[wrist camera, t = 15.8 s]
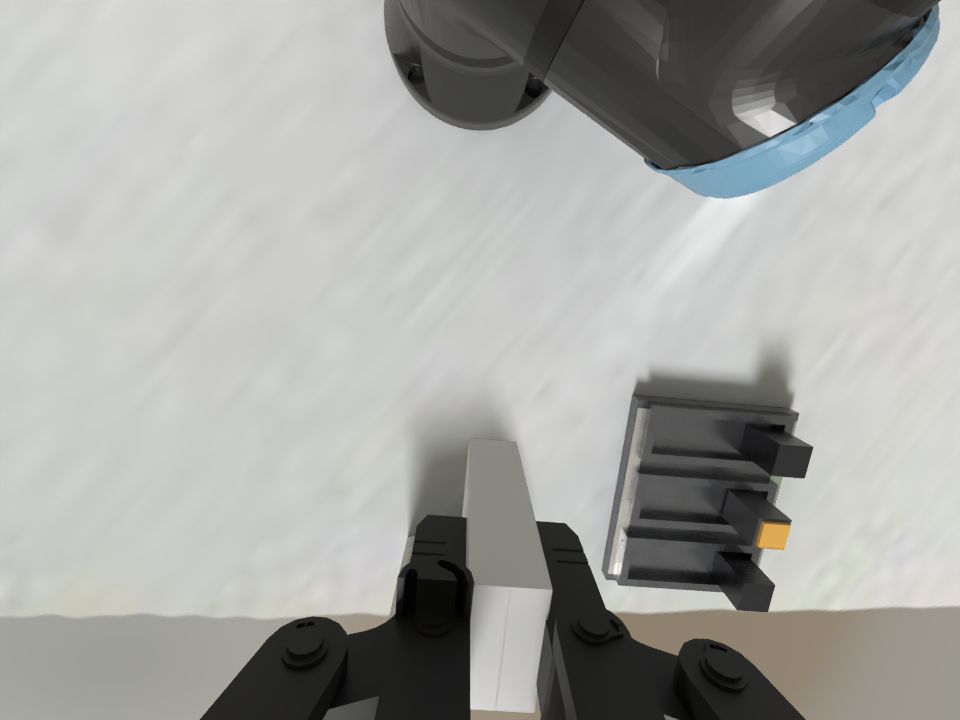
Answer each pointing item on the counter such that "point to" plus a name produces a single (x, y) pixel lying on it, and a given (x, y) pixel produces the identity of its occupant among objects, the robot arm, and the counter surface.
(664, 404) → the panel
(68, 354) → the counter surface
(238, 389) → the counter surface
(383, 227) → the counter surface
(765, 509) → the handle
